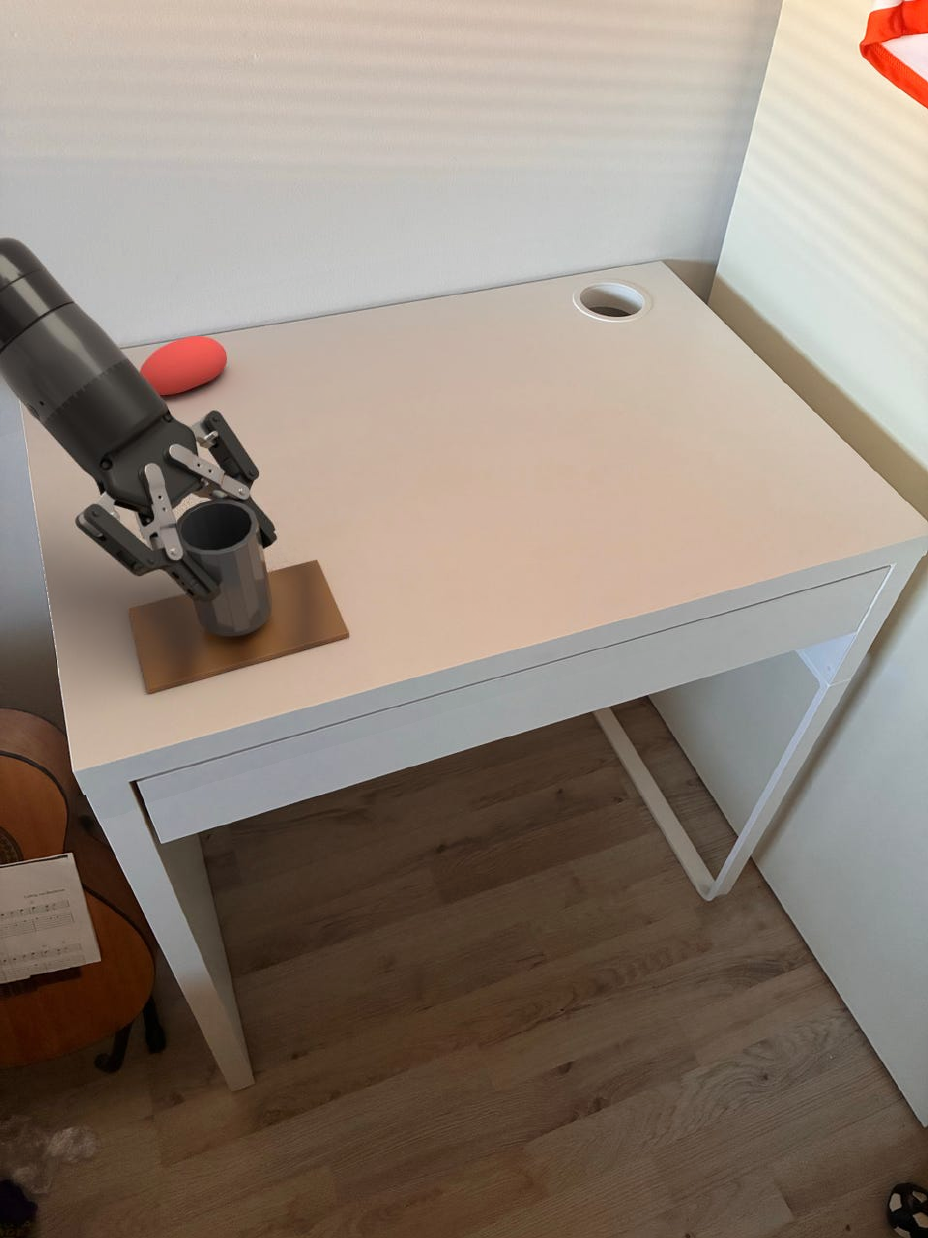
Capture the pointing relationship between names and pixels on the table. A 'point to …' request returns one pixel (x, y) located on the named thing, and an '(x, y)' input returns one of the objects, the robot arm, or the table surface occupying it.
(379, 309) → the table surface
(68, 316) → the robot arm
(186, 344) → the stress ball
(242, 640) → the plate
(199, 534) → the open gray tube
